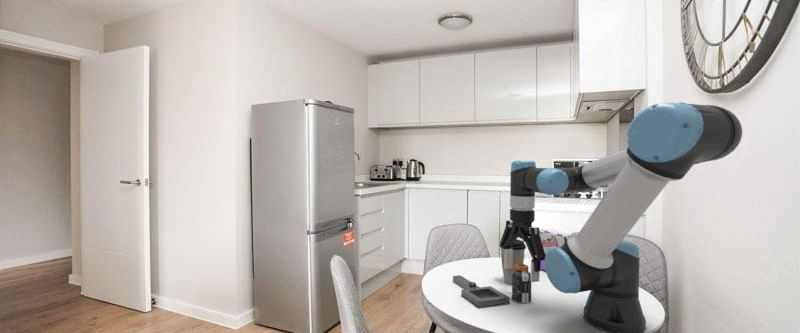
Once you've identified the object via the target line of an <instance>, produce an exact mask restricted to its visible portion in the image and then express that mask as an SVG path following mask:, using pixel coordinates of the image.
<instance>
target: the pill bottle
mask: <svg viewBox="0 0 800 333" xmlns="http://www.w3.org/2000/svg"><path fill="white" fill-rule="evenodd" d="M515 269H516V270H515V271H513V273H512V284H511V299H512V301H514V302H516V303H520V304H529V303H531V302H532V282H530V274H531V271H529V265H528V264H525V263H523V264H516V265H515Z"/></svg>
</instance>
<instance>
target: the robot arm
mask: <svg viewBox="0 0 800 333" xmlns="http://www.w3.org/2000/svg"><path fill="white" fill-rule="evenodd" d="M626 136H628V139H627V140H626V142H627V145H628V147H627V148H625V149H623V150H620V151H617V152H614V153H612V154H609V155H607V156H604V157H601V158H599V159H595V160H593V161H590V162H588V163H586V164H582V165H580V166H577V167H537V164H536V161H534V160H512V162H511V163H510V164H511V165H510V173H509V174H510V185H509V186H510V187H509V188H510V190H509V192H510V195H509V207H510V209H509V219H507V220H506V221H505V227H504V230H503V233H502V235H501V239H500V241H499V246H500V245H502V246H503V248H504V268H505V269H510V268H512V261H513V249H510V248H513V247H512V245H513V244H514V242H515V241H516V240H518V238H520V239H521V240H522V241H524V244H525V245H526V248H527V249H528V251H529V254H530V256H531V258H532V259H531V260H530V273H531V274H530V282H531V283H536V282H537V283H538V282H540V272H541V270H540V268H541V261H542V260H545V269H546V272H545V273H546V276H547V278H548V280H549V282H550V283H551V285H552V286H553V287H554V288H555V289H556V290H557V291H559V292H561V293H564V294H578V293H583V292H588V291H589V293H588V296H587V299H586V302H585V305H584V307H583V312H582V313H583V314H582V317H583V320H584V321H586V323H588V324H589V325H591V326H593V327H594V328H598V329H599V330H603V331H606V332H610V333H643V332H645V331H646V329H647V319H646V317H645V315H644V313H643V308H642V305H641V302H640V297H639V296H640V295H639V294H640V293H639V292H640V291H639V289H640V288H639V287H640V286H639V285H640V260H641V257H640V248H639V246H638V245H637V244H636V243H633V242H632V241H627V240H624V239H625V238H626V236H627V235H628V234H629V232H630V231H631V230H632V229H633V228H634V226H635V225H636V224H637V222H638V221H639V220H640V218H642V217H643V215H644V214H645V212H646V211H647V210H648V209H649V207H651V205H652V204H653V203H654V201H655V200H656V199H657V197H658V196H659V195H660V193H662V191H663V190H664V189H665V187H666V186H667V185H668V184H669V182H676V181H680V180H682V179H684V177H685V176H686V175H687V174H688V172H689V171H690V169H692V168H693V166H694V165H698V164H703V163H706V162H711V161H717V160H721V159H724V158H725V157H727V156H729V155H730V154H731V153H733V152H734V151H735V149H737V148H738V146H739V145H740V143H741V140H742V137H743V128H742V123H741V121H740V120H739V118H738V117H737V116H736V115H735V113H733V112H732V111H731V110H729V109H726V108H724V107H721V106H718V105H709V104H696V103H695V104H694V103H687V102H681V101H669V102H660V103H655V104H652V105H649V106H647V107H645V108H644V109H642V110H641V111H640V112H638V113H637V114H636V116H634V118H633V119H632V121H631V122H630V123H629V127H628V128H627V133H626ZM610 184H611V185H610ZM607 185H610V186H609V189H608V190H607V191H606V192H605V194H604V195H603V197H602V199H600V202H598V204H597V206H596V207H595V209H594V210H593V211H592V213H591V214H590V216H588V219H587V220H586V221H585V223H584V224H583V226H582V227H581V229H580V230H579V231H577V232H576V231H575V232H572V233H569V234H570V235H569V236H568V238H567V239H566V241H565V242H564V244H563V245H562V246H561V247H559V248H558V247H554V248H552V249H550V250H549V251H548V252H547V253H546V256H545V252H544V248H543V245H542V241H541V238H540V232H539V230H540V227H536V226H535V227H533V225H532V224H533V223H534V221H535V218H536V217H535V216H536V215H535V210H534V209H535V205H536V204H535V203H536V202H535V200H536V199H535V198H536V193H539V194H545V195H546V196H560V195H562V194H569V193H570V194H571V193H581V194H582V193H583V194H584V193H585V194H586V193H590V192H591V193H592V192H595V191H596V190H598V189H599V188H600V187H604V186H607ZM504 241H505V242H504Z"/></svg>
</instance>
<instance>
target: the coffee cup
mask: <svg viewBox="0 0 800 333" xmlns="http://www.w3.org/2000/svg"><path fill="white" fill-rule="evenodd" d="M504 242H505V241H504ZM499 247H500V258H501V268H502V275H503V281H504V283H505V284H508V285H512V273H513V271H515V270H516V269H515V265H516V264H525V262H524V260H525V250H526V249H527V245H526V243H525V241H523V240H522V239H521V240H520V239H516V241H515V242H514V244H513V245H512V247H513V248H510V249H513V261H512V268H510V269H505V268H504V248H503V246H502V245H500V244H499Z"/></svg>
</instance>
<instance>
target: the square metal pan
mask: <svg viewBox="0 0 800 333" xmlns="http://www.w3.org/2000/svg"><path fill="white" fill-rule="evenodd" d="M452 282H453V283H454V284H456V285H458V287H461V288H463V289H461V297H462V298H464V299H465V300H466V301H468V302H469V303H471V305H473V306H474V307H476V308H477V309H483V308H491V307H498V306H504V305H510V304H511V303H510V302H511V301H510V300H511V298H510V296H508V295H506V294H504V293H503V292H501V291H499V290H497V289H496V288H495V287H492V286H491V285H489V286H481V287H480V286H478V285H477V282H474V281H471V280H469V279H467V278H466V277H464V276H462V275H460V274H459V275H458V274H457V275H453V276H452Z"/></svg>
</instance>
